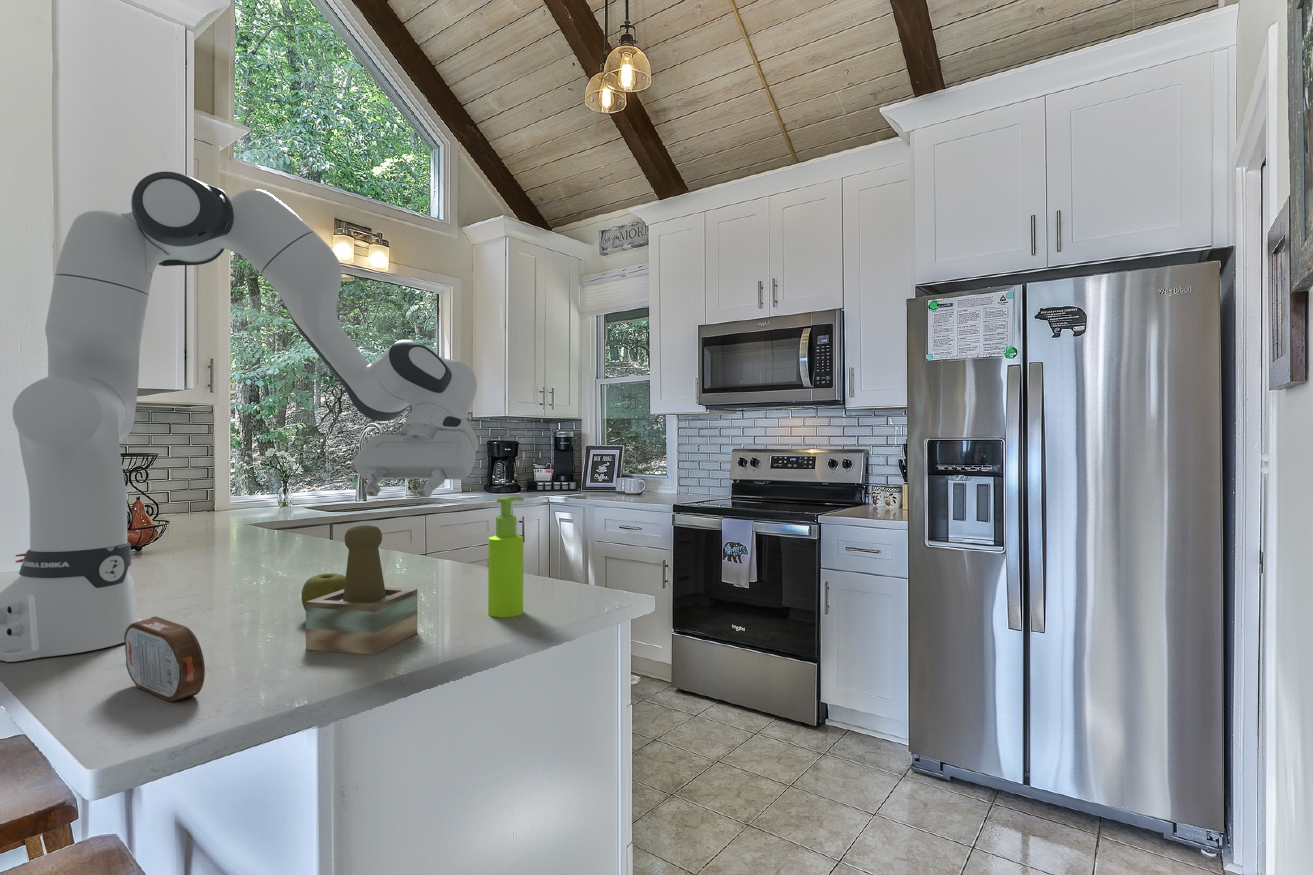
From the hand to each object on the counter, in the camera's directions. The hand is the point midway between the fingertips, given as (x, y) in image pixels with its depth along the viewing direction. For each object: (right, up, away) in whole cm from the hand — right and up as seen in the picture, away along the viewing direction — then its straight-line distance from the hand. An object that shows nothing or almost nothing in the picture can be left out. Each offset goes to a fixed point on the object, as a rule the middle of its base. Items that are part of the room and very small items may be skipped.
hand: (396, 494), depth 111 cm
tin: (-17, -22, -29) cm, 40 cm away
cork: (-2, -15, -7) cm, 17 cm away
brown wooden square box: (-2, -21, -8) cm, 23 cm away
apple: (-13, -21, +5) cm, 26 cm away
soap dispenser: (+16, -21, +9) cm, 28 cm away
